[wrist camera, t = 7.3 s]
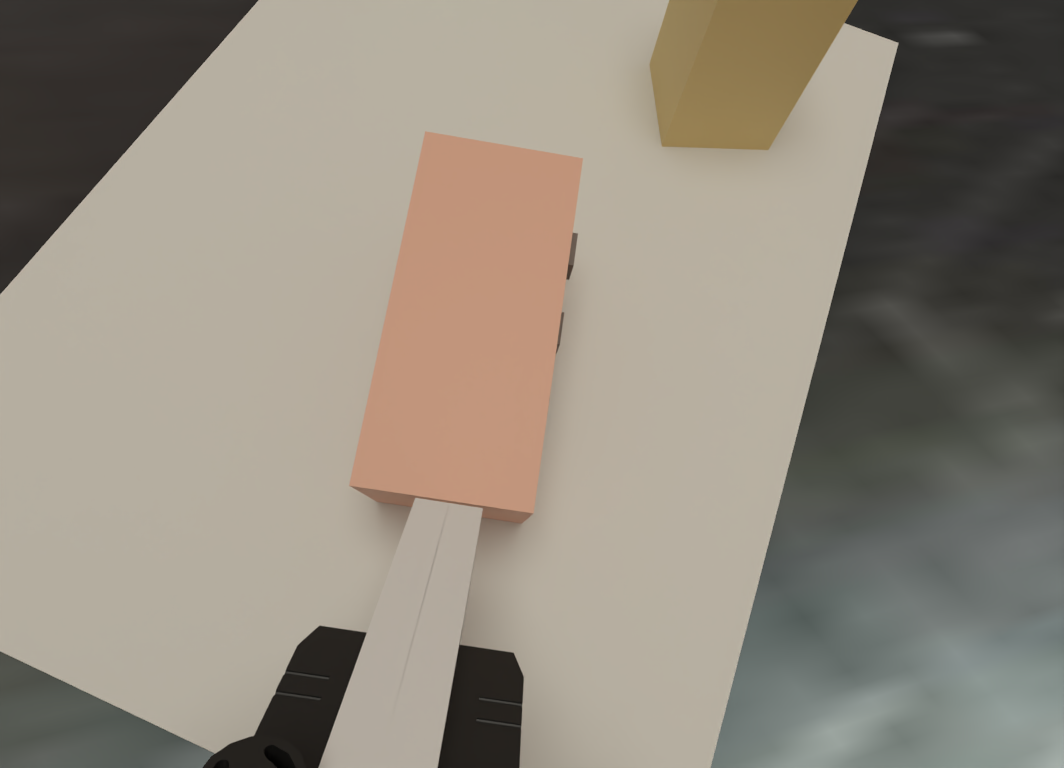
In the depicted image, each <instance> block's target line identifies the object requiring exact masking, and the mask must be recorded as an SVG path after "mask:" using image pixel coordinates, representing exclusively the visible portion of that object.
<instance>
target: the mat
mask: <svg viewBox="0 0 1064 768" xmlns="http://www.w3.org/2000/svg"><path fill="white" fill-rule="evenodd" d="M668 3H669V0H259V1H258V2H257V3H256V4H255V5H254V6H253V8H252V9H251V10H250V11H249V12H248V13H247V14H246V16H245V17H244V18H243V19H242V20H241V21H240V22H239V24H238V25H237V26H236V27H235V28H234V29H233V30H232V31H231V33H230V34H229V35H228V36H227V37H226V38H225V39H224V41H223V42H222V43H221V44H220V45H219V46H218V47H217V49H216V50H215V51H214V52H213V53H212V54H211V55H210V57H209V58H208V59H207V60H206V61H205V62H204V63H203V64H202V66H201V67H200V68H199V69H198V70H197V71H196V72H195V74H194V75H193V76H192V77H191V78H190V79H189V80H188V82H187V83H186V84H185V85H184V86H183V87H182V88H181V90H180V91H179V92H178V93H177V94H176V95H175V96H174V98H173V99H172V100H171V101H170V102H169V103H168V104H167V105H166V107H165V108H164V109H163V110H162V111H161V112H160V113H159V115H158V116H157V117H156V118H155V119H154V120H153V121H152V123H151V124H150V125H149V126H148V127H147V128H146V129H145V131H144V132H143V133H142V134H141V135H140V136H139V137H138V138H137V140H136V141H135V142H134V143H133V144H132V145H131V146H130V148H129V149H128V150H127V151H126V152H125V153H124V154H123V156H122V157H121V158H120V159H119V160H118V161H117V162H116V164H115V165H114V166H113V167H112V168H111V169H110V170H109V172H108V173H107V174H106V175H105V176H104V177H103V178H102V179H101V181H100V182H99V183H98V184H97V185H96V186H95V187H94V189H93V190H92V191H91V192H90V193H89V194H88V195H87V197H86V198H85V199H84V200H83V201H82V202H81V203H80V205H79V206H78V207H77V208H76V209H75V210H74V211H73V213H72V214H71V215H70V216H69V217H68V218H67V219H66V220H65V222H64V223H63V224H62V225H61V226H60V227H59V228H58V230H57V231H56V232H55V233H54V234H53V235H52V236H51V238H50V239H49V240H48V241H47V242H46V243H45V244H44V246H43V247H42V248H41V249H40V250H39V251H38V252H37V253H36V255H35V256H34V257H33V258H32V259H31V260H30V261H29V263H28V264H27V265H26V266H25V267H24V268H23V269H22V271H21V272H20V273H19V274H18V275H17V276H16V277H15V279H14V280H13V281H12V282H11V283H10V284H9V285H8V287H7V288H6V289H5V290H4V291H3V292H2V293H1V294H0V651H1V652H3V653H5V654H7V655H9V656H11V657H14V658H16V659H18V660H20V661H22V662H24V663H26V664H28V665H30V666H32V667H35V668H37V669H39V670H41V671H43V672H45V673H47V674H49V675H51V676H53V677H56V678H58V679H60V680H62V681H64V682H66V683H68V684H70V685H72V686H74V687H77V688H79V689H81V690H83V691H85V692H87V693H89V694H91V695H93V696H96V697H98V698H100V699H102V700H104V701H106V702H108V703H110V704H112V705H114V706H117V707H119V708H121V709H123V710H125V711H127V712H129V713H131V714H133V715H135V716H138V717H140V718H142V719H144V720H146V721H148V722H150V723H152V724H154V725H156V726H159V727H161V728H163V729H165V730H167V731H169V732H171V733H173V734H175V735H177V736H180V737H182V738H184V739H186V740H188V741H190V742H192V743H194V744H196V745H199V746H201V747H203V748H205V749H207V750H209V751H211V752H213V753H215V754H216V753H217V752H219V751H220V750H221V749H223V748H224V747H226V746H227V745H229V744H230V743H233V742H236V741H239V740H242V739H245V738H248V737H251V736H254V735H255V733H256V730H257V728H258V726H259V724H260V722H261V720H262V718H263V716H264V714H265V712H266V710H267V708H268V706H269V703H270V701H271V699H272V697H273V696H274V695H275V692H276V689H277V687H278V685H279V683H280V681H281V679H282V676H283V675H285V671H286V668H287V666H288V664H289V662H290V660H291V658H292V656H293V654H294V652H295V650H296V647H297V645H298V644H299V643H300V642H302V641H303V640H304V639H305V638H306V637H307V636H308V635H309V634H311V633H312V632H313V631H314V630H315V629H316V628H317V627H318V626H319V625H320V626H326V627H333V628H340V629H346V630H353V631H360V632H367V631H368V628H369V625H370V623H371V620H372V617H373V614H374V611H375V609H376V606H377V603H378V600H379V598H380V595H381V592H382V589H383V586H384V584H385V581H386V578H387V575H388V572H389V570H390V567H391V564H392V561H393V559H394V556H395V553H396V550H397V547H398V545H399V542H400V539H401V536H402V533H403V531H404V528H405V525H406V522H407V520H408V517H409V514H410V511H411V508H412V507H409V506H402V505H395V504H389V503H382V502H376V501H375V500H373V499H371V498H370V497H368V496H366V495H364V494H363V493H361V492H359V491H357V490H356V489H354V488H352V487H351V486H349V484H350V479H351V474H352V470H353V465H354V460H355V456H356V451H357V446H358V442H359V437H360V433H361V428H362V423H363V419H364V414H365V409H366V405H367V400H368V395H369V391H370V386H371V381H372V377H373V372H374V367H375V363H376V358H377V353H378V349H379V344H380V339H381V335H382V330H383V325H384V321H385V316H386V311H387V307H388V302H389V298H390V293H391V288H392V284H393V279H394V274H395V270H396V265H397V260H398V256H399V251H400V246H401V242H402V237H403V232H404V228H405V223H406V218H407V214H408V209H409V204H410V200H411V195H412V190H413V186H414V181H415V177H416V172H417V167H418V163H419V158H420V153H421V149H422V144H423V139H424V135H425V131H426V132H432V133H438V134H444V135H450V136H456V137H462V138H467V139H473V140H479V141H485V142H491V143H497V144H502V145H508V146H514V147H520V148H526V149H532V150H537V151H543V152H549V153H555V154H561V155H567V156H572V157H578V158H583V162H582V169H581V177H580V184H579V191H578V198H577V205H576V212H575V220H574V227H573V233H578V238H577V245H576V252H575V260H574V266H573V269H572V272H571V275H570V278H569V280H567V279H566V284H565V291H564V299H563V306H562V312H564V318H563V326H562V333H561V340H560V345H559V348H558V351H557V354H556V356H555V363H554V370H553V378H552V385H551V393H550V400H549V407H548V414H547V421H546V428H545V435H544V442H543V449H542V457H541V464H540V471H539V478H538V485H537V492H536V500H535V507H534V513H533V514H532V515H531V516H530V517H529V518H528V519H527V520H525V521H524V522H523V523H515V522H509V521H502V520H495V519H489V518H482V517H481V524H480V530H479V536H478V542H477V548H476V555H475V561H474V567H473V573H472V579H471V586H470V592H469V598H468V604H467V610H466V616H465V622H464V627H463V633H462V639H461V645H466V646H472V647H479V648H486V649H492V650H499V651H506V652H512V653H514V655H515V657H516V659H517V662H518V664H519V666H520V669H521V671H522V673H523V676H524V685H523V703H522V724H521V745H520V766H519V768H710V767H711V763H712V760H713V756H714V752H715V748H716V744H717V740H718V736H719V733H720V729H721V725H722V721H723V717H724V713H725V709H726V706H727V702H728V698H729V694H730V690H731V686H732V682H733V679H734V675H735V671H736V667H737V663H738V659H739V655H740V652H741V648H742V644H743V640H744V636H745V632H746V628H747V625H748V621H749V617H750V613H751V609H752V605H753V601H754V598H755V594H756V590H757V586H758V582H759V578H760V574H761V571H762V567H763V563H764V559H765V555H766V551H767V547H768V544H769V540H770V536H771V532H772V528H773V524H774V520H775V517H776V513H777V509H778V505H779V501H780V497H781V493H782V490H783V486H784V482H785V478H786V474H787V470H788V466H789V463H790V459H791V455H792V451H793V447H794V443H795V439H796V436H797V432H798V428H799V424H800V420H801V416H802V412H803V409H804V405H805V401H806V397H807V393H808V389H809V385H810V382H811V378H812V374H813V370H814V366H815V362H816V358H817V355H818V351H819V347H820V343H821V339H822V335H823V331H824V328H825V324H826V320H827V316H828V312H829V308H830V304H831V301H832V297H833V293H834V289H835V285H836V281H837V277H838V274H839V270H840V266H841V262H842V258H843V254H844V250H845V247H846V243H847V239H848V235H849V231H850V227H851V223H852V220H853V216H854V212H855V208H856V204H857V200H858V196H859V193H860V189H861V185H862V181H863V177H864V173H865V169H866V166H867V162H868V158H869V154H870V150H871V146H872V142H873V139H874V135H875V131H876V127H877V123H878V119H879V115H880V112H881V108H882V104H883V100H884V96H885V92H886V88H887V85H888V81H889V77H890V73H891V69H892V65H893V61H894V58H895V54H896V50H897V46H898V43H897V42H894V41H891V40H888V39H886V38H883V37H880V36H878V35H875V34H872V33H869V32H867V31H864V30H861V29H859V28H856V27H853V26H850V25H848V24H845V23H844V24H843V26H842V28H841V29H840V31H839V33H838V34H837V36H836V38H835V39H834V41H833V43H832V44H831V46H830V48H829V49H828V51H827V53H826V54H825V56H824V58H823V59H822V61H821V63H820V64H819V66H818V68H817V69H816V71H815V73H814V74H813V76H812V78H811V80H810V81H809V83H808V85H807V86H806V88H805V90H804V91H803V93H802V95H801V96H800V98H799V100H798V101H797V103H796V105H795V106H794V108H793V110H792V111H791V113H790V115H789V116H788V118H787V120H786V121H785V123H784V125H783V126H782V128H781V130H780V131H779V133H778V135H777V136H776V138H775V140H774V141H773V143H772V145H771V147H770V148H769V150H750V149H721V148H691V147H662V145H661V138H660V131H659V125H658V118H657V111H656V105H655V98H654V91H653V85H652V78H651V72H650V65H649V64H650V60H651V57H652V54H653V51H654V48H655V44H656V41H657V38H658V35H659V32H660V28H661V25H662V22H663V19H664V16H665V12H666V9H667V6H668Z"/></svg>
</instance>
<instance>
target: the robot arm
mask: <svg viewBox="0 0 1064 768" xmlns="http://www.w3.org/2000/svg"><path fill="white" fill-rule="evenodd" d="M482 511H483V508H478V507H471V506H465V505H459V504H452V503H446V502H439V501H433V500H427V499H420V498H415V500H414V503H413V506H412V508H411V511H410V514H409V517H408V520H407V522H406V525H405V528H404V531H403V533H402V536H401V539H400V542H399V545H398V547H397V550H396V553H395V556H394V559H393V561H392V564H391V567H390V570H389V572H388V575H387V578H386V581H385V584H384V586H383V589H382V592H381V595H380V598H379V600H378V603H377V606H376V609H375V611H374V614H373V617H372V620H371V623H370V625H369V628H368V631H367V632H360V631H353V630H346V629H340V628H333V627H326V626H320V625H319V626H318V627H317V628H316V629H315V630H314V631H313V632H312V633H311V634H309V635H308V636H307V637H306V638H305V639H304V640H303V641H302V642H300V643H299V644H298V645H297V647H296V650H295V652H294V654H293V656H292V658H291V660H290V662H289V664H288V666H287V668H286V671H285V675H283V676H282V679H281V681H280V683H279V685H278V687H277V689H276V692H275V695H274V696H273V697H272V699H271V701H270V703H269V706H268V708H267V710H266V712H265V714H264V716H263V718H262V720H261V722H260V724H259V726H258V728H257V730H256V733H255V735H254V736H251V737H248V738H245V739H242V740H239V741H236V742H233V743H230V744H229V745H227V746H226V747H224V748H223V749H221V750H220V751H219V752H217V753H216V754H214V755H213V756H211V758H210V759H209V760H208V761H207V763H206V764H205V765H204V767H203V768H519V766H520V745H521V724H522V703H523V685H524V676H523V673H522V671H521V669H520V666H519V664H518V662H517V659H516V657H515V655H514V653H512V652H506V651H499V650H492V649H486V648H479V647H472V646H466V645H461V639H462V633H463V627H464V622H465V616H466V610H467V604H468V598H469V592H470V586H471V579H472V573H473V567H474V561H475V555H476V548H477V542H478V536H479V530H480V524H481V517H482Z"/></svg>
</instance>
